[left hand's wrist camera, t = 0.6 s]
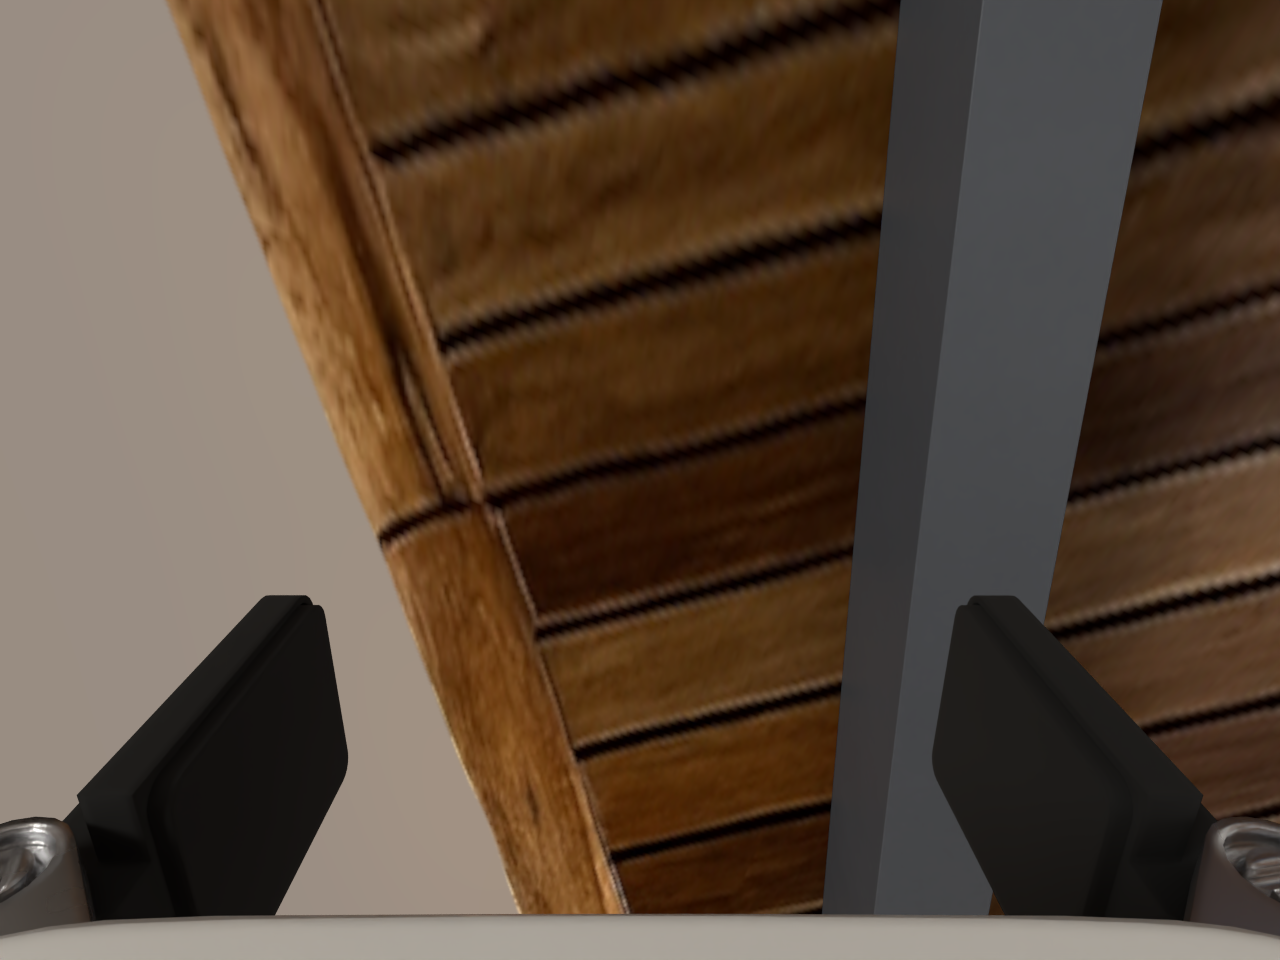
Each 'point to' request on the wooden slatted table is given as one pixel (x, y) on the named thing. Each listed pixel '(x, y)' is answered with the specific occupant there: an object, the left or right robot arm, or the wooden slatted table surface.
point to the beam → (971, 390)
